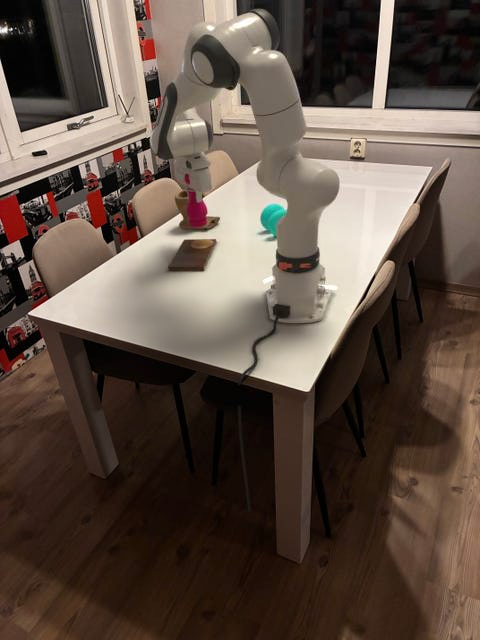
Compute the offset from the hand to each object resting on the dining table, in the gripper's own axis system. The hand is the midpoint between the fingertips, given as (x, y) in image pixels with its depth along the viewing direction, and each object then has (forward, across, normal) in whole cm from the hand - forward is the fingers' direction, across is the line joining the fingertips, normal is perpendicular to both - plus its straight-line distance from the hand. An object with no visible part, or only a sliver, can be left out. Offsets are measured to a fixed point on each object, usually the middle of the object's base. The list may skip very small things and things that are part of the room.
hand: (195, 199), depth 165 cm
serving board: (+18, +4, -5) cm, 19 cm away
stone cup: (+18, -19, +8) cm, 28 cm away
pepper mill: (+9, 0, 0) cm, 9 cm away
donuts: (+18, +7, +28) cm, 34 cm away
